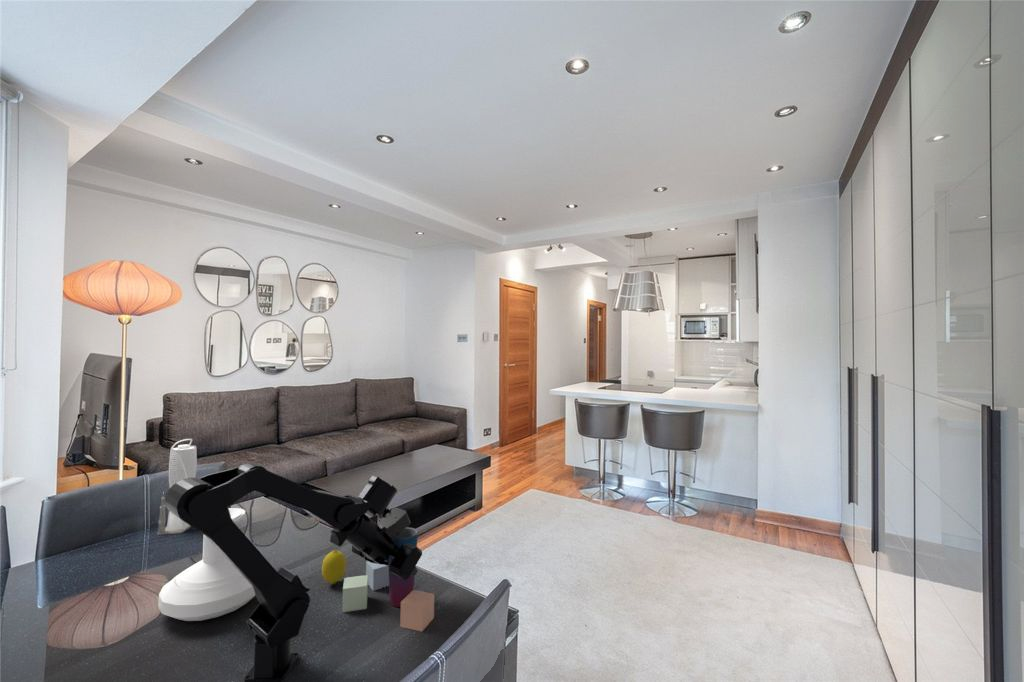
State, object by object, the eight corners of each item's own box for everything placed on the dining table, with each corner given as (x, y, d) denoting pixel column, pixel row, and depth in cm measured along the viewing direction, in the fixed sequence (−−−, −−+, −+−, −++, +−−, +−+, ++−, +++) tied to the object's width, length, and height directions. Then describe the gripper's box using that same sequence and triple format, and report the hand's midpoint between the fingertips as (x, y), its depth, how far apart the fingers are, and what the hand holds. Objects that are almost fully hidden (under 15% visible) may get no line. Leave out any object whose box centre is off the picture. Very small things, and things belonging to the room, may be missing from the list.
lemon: (337, 591, 102) (338, 556, 102) (316, 588, 103) (317, 554, 103) (350, 579, 107) (351, 546, 108) (330, 577, 108) (331, 544, 109)
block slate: (393, 584, 105) (393, 563, 105) (373, 591, 102) (373, 569, 102) (385, 576, 109) (386, 556, 109) (365, 582, 106) (366, 561, 106)
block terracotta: (421, 632, 87) (422, 606, 87) (400, 627, 88) (400, 602, 89) (433, 618, 92) (434, 593, 92) (413, 613, 93) (413, 589, 93)
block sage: (366, 609, 95) (367, 585, 95) (342, 612, 93) (342, 589, 93) (367, 597, 99) (367, 574, 100) (344, 600, 98) (344, 577, 98)
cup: (383, 596, 99) (384, 530, 100) (413, 590, 102) (414, 525, 103) (388, 612, 93) (389, 540, 94) (419, 604, 96) (420, 535, 97)
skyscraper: (172, 524, 142) (176, 438, 143) (200, 523, 143) (203, 437, 145) (156, 534, 134) (160, 443, 135) (185, 533, 135) (189, 442, 136)
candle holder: (135, 639, 84) (140, 538, 85) (183, 587, 103) (186, 505, 104) (251, 623, 89) (254, 528, 90) (276, 576, 108) (279, 498, 109)
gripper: (415, 509, 90) (453, 546, 98) (364, 492, 102) (402, 526, 110) (382, 562, 83) (426, 596, 92) (332, 536, 95) (374, 569, 103)
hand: (407, 568), depth 99 cm, fingers closed on cup, 6 cm apart
